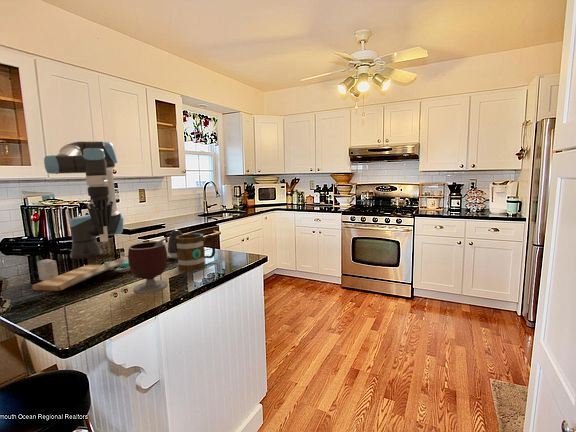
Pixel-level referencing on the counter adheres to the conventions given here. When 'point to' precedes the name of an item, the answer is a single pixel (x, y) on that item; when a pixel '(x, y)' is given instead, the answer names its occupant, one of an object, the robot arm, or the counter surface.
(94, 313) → the counter surface
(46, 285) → the oak board
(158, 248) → the mate gourd
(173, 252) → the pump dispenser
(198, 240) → the mug
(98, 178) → the robot arm
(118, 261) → the ash plank
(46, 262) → the medicine box
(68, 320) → the counter surface
